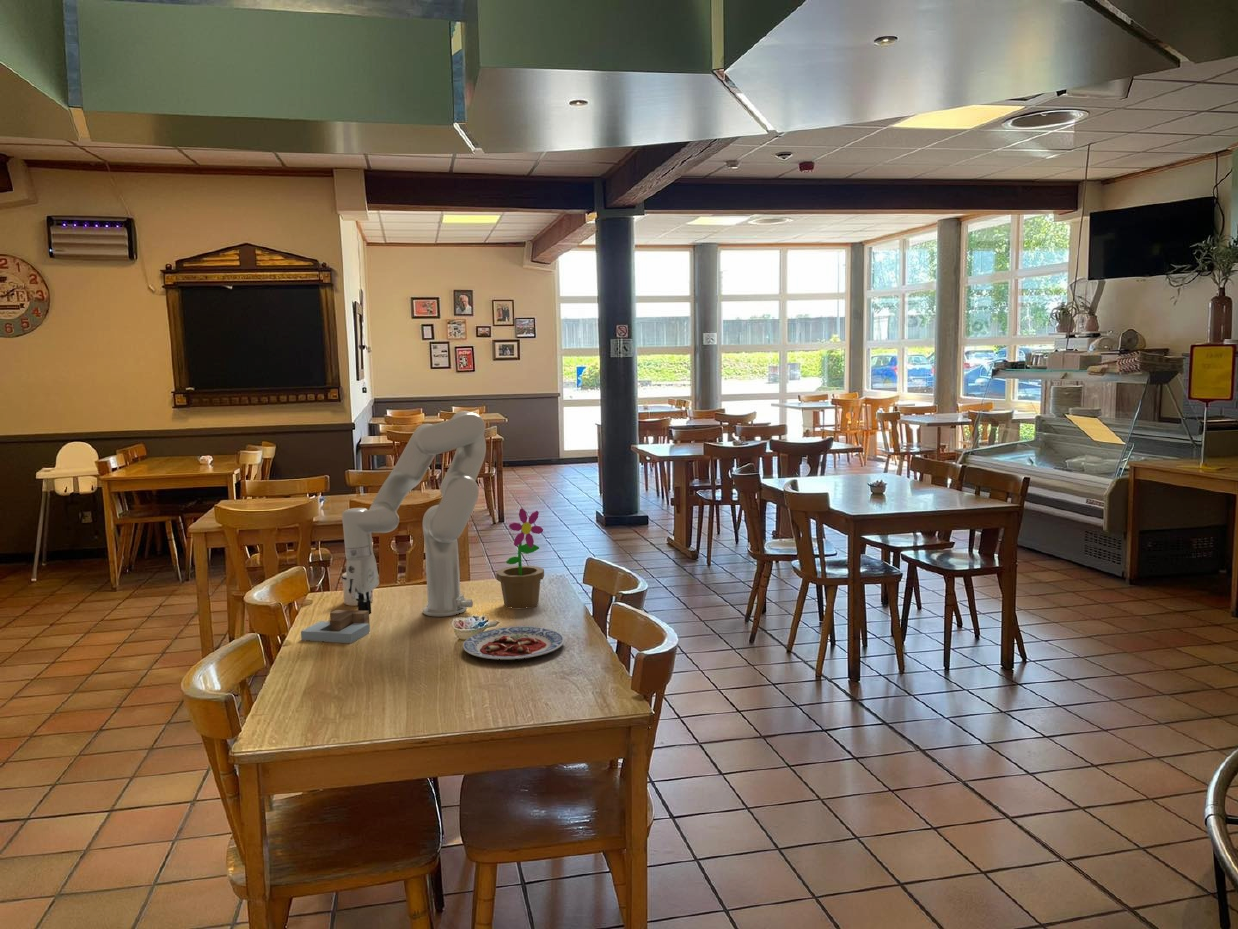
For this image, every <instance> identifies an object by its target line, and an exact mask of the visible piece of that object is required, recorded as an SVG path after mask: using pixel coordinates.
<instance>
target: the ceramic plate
mask: <svg viewBox="0 0 1238 929" xmlns="http://www.w3.org/2000/svg"><path fill="white" fill-rule="evenodd" d="M477 634H478V633H477ZM474 635H475V636H473V635H471V636H469V637H468V638H467V639H465V640H464V642H463V643H462V647H463V648H462V649H463V651H465V652H466V653H468V654H470V655H471V656H473V657H474V656H475V657H477V658H478V657H479V658H482V659H488V660H489V659H491V660H499V659H500V661H514V660H515V659H518V660H525V659H531V658H534V657H539V656H542V655H547V654H549V653H552V652H554V651H557V650H558V649H559V648H561V647H562V646H563V645H564V643H565V637H564V635H562V634H561V633H560V632H558V631H556V630H553V629H549V628H545V627H538V626H537V627H536V626H509V627H499V628H494V629H489V630H485V631H482V632H479V634H478V635H476V634H474ZM524 658H525V659H524ZM515 661H516V660H515Z"/></svg>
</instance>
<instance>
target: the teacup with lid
mask: <svg viewBox="0 0 1238 929" xmlns="http://www.w3.org/2000/svg"><path fill="white" fill-rule="evenodd" d="M341 579H342V588H343V589H342V590H343V603H344V604H345V605H346V606H351V607H353V606H354V607H358V602H356V599H352V598H351V593H349V592H348V589H347V578H346V571H345V572H343V573H342V574H341ZM373 591H374V590H373ZM373 591H372V592H371V600H370V602H371V603H373V601H374V597H373V596H374V594H373Z"/></svg>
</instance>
